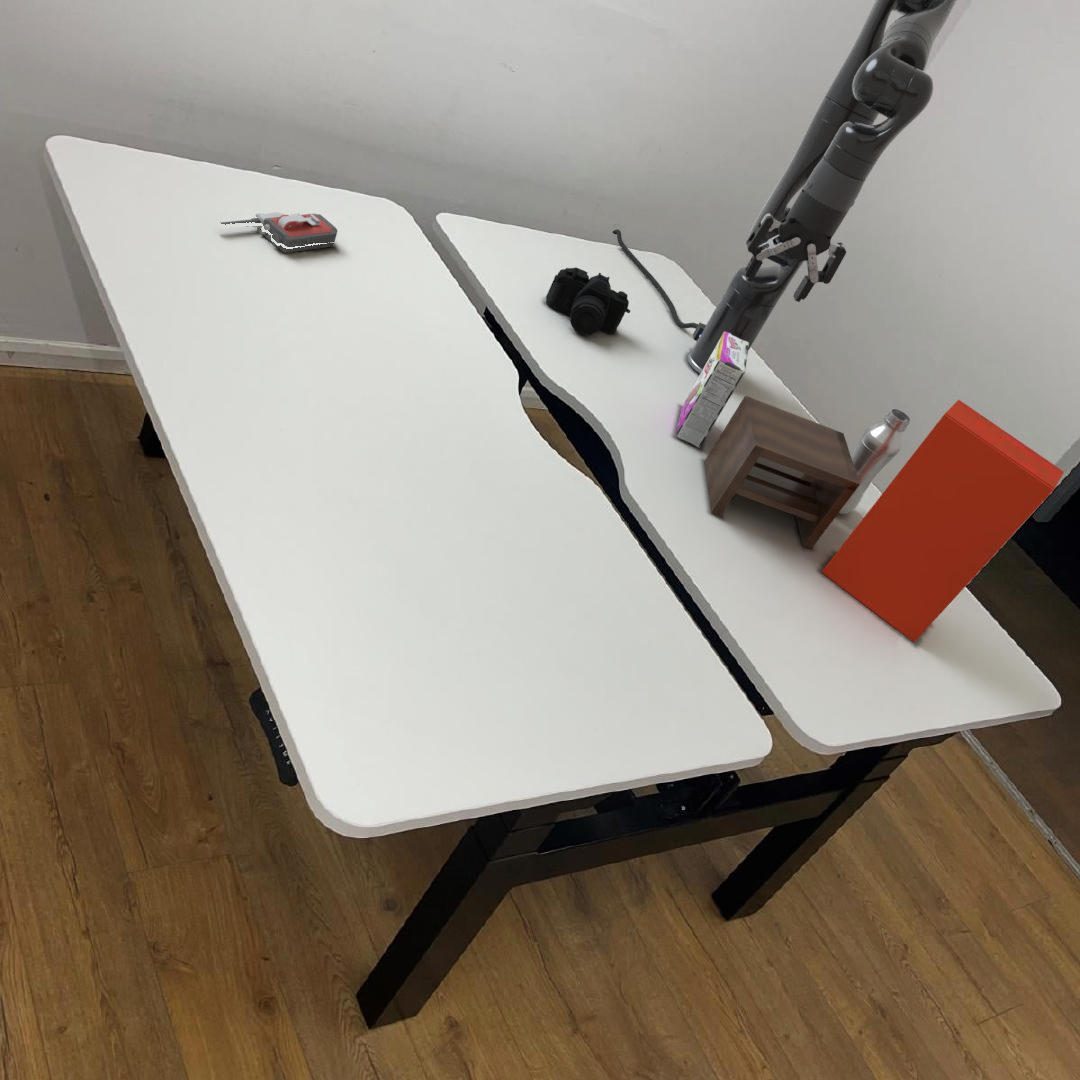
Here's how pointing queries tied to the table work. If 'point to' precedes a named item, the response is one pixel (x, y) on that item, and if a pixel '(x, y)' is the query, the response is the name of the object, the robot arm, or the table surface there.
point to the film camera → (587, 301)
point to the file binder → (941, 520)
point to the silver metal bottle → (876, 452)
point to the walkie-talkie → (295, 230)
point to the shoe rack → (782, 466)
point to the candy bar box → (712, 389)
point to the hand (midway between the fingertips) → (771, 289)
